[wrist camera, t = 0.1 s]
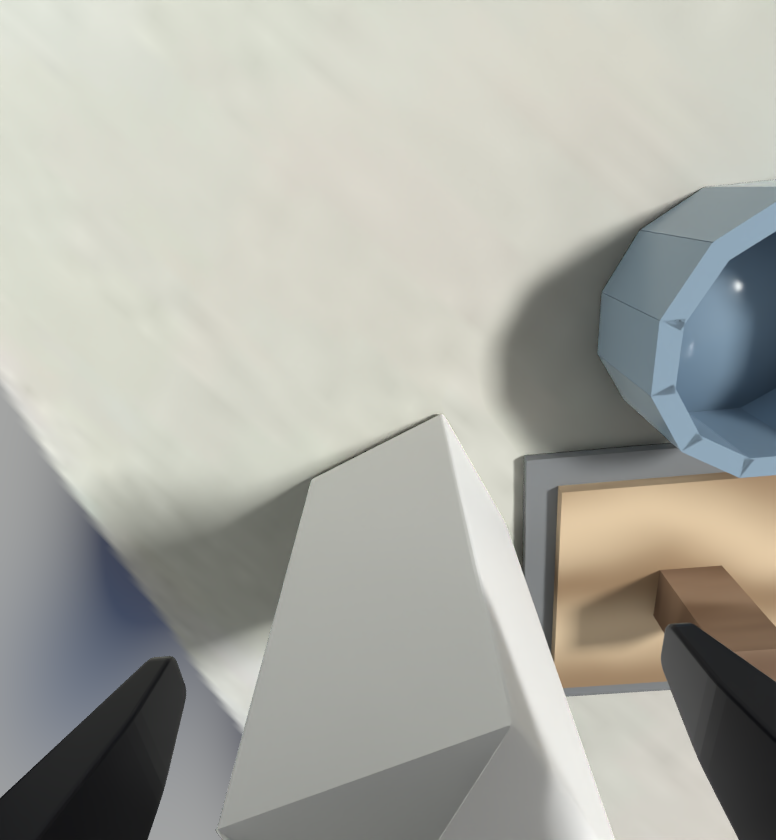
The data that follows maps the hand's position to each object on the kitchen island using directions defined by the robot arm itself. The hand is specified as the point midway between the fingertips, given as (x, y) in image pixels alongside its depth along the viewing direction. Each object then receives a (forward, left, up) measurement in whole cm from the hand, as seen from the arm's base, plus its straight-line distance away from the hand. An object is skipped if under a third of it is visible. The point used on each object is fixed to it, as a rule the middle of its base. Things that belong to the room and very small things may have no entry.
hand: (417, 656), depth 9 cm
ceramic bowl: (+2, -13, -15) cm, 20 cm away
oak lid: (-12, -13, -14) cm, 23 cm away
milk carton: (-6, 0, -15) cm, 16 cm away
